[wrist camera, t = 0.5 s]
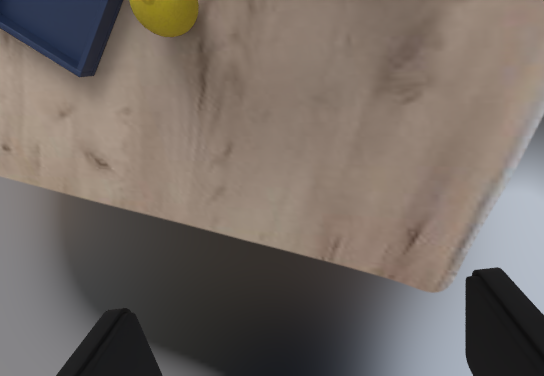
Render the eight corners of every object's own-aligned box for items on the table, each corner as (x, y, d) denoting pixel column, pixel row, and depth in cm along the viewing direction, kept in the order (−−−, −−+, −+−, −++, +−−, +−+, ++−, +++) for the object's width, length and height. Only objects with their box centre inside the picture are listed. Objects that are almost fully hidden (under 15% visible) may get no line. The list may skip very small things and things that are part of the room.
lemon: (155, -29, 33) (111, -53, 25) (211, -18, 33) (183, -38, 25) (152, 33, 35) (111, 27, 27) (204, 43, 35) (178, 41, 27)
